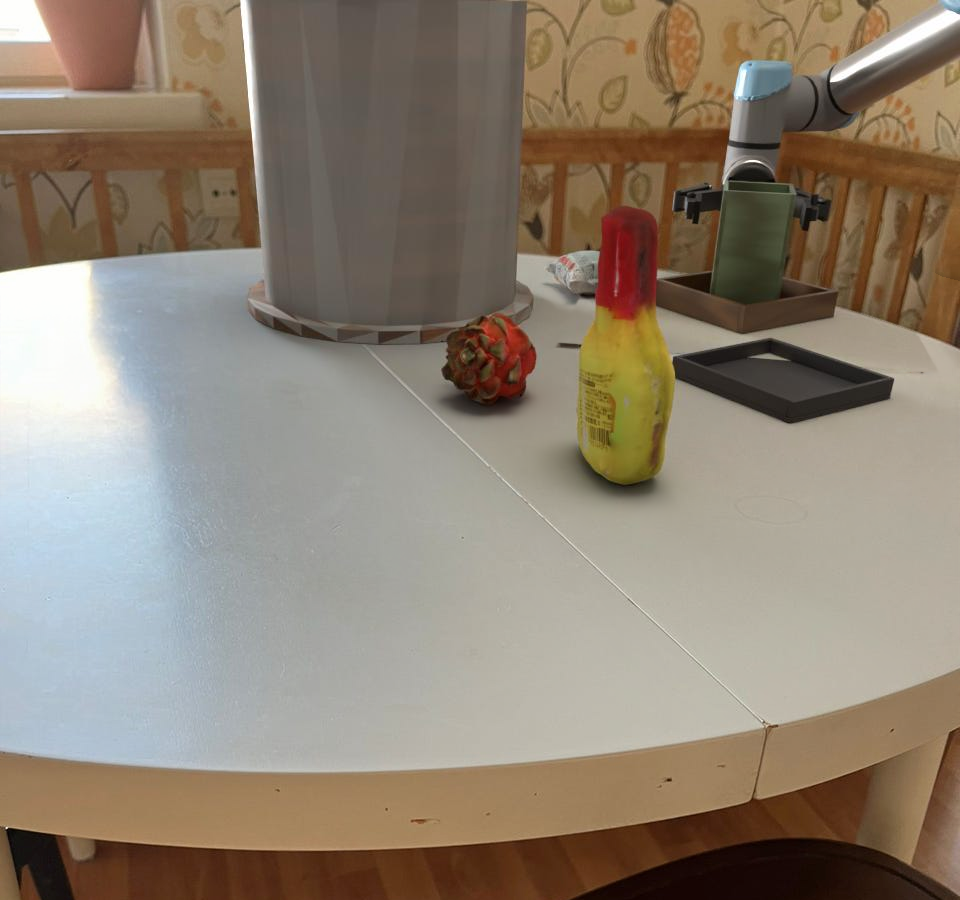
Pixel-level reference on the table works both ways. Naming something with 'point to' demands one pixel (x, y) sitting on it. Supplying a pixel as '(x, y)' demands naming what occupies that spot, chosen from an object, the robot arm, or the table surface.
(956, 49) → the robot arm
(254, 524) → the table surface
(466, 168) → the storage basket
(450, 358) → the dragon fruit
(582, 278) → the packaged food
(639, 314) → the bottle
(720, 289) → the tall basket
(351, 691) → the table surface
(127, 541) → the table surface
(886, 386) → the tray
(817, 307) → the brown wooden tray
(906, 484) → the table surface
